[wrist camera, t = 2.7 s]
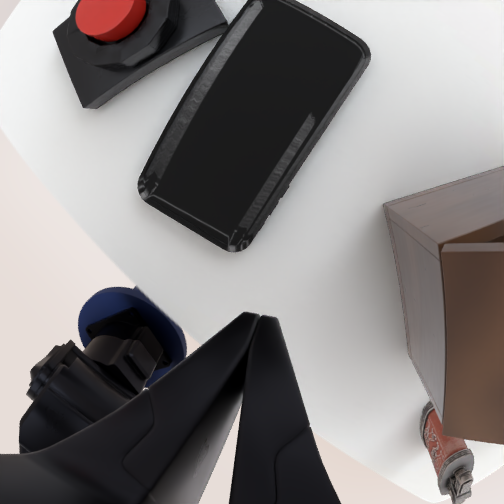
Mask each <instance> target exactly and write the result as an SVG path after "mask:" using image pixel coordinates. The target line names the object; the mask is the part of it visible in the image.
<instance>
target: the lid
mask: <svg viewBox="0 0 504 504" xmlns="http://www.w3.org/2000/svg"><path fill="white" fill-rule="evenodd" d="M441 258H442V267H443V278H444V290H445V304H446V327H447V372H446V394H445V409H444V420H443V430H442V435H445V436H450V437H456V438H461V439H467V440H474V441H480V442H487V443H495V444H503V445H504V243H453V244H444V246H443V249H442V251H441Z"/></svg>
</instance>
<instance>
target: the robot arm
mask: <svg viewBox="0 0 504 504" xmlns="http://www.w3.org/2000/svg"><path fill="white" fill-rule="evenodd" d="M131 312H132V313H133V314H134V315H133V314H131ZM85 331H86V333H87V334H88V336H89V337H90V338H91V340H92V341H91V342H90V343H89V345H88V346H87V347H86V348H85V350H84V351H83V352H82V351H81V350H80V349H79V348H78V347H77V346H75V343H74V342H73V341H72V340H70V341H69V342H68V343H67V344H66V345H65V344H63V345H62V346H57V345H56V346H55V347H54V348H53V349H52V350H51V351H50V352H49V354H48V355H47V356H46V357H45V358H43V359H42V360H41V361H40V362H38V363H37V364H36V365H35V366H34V367H33V368H32V369H31V371H30V374H31V383H30V384H29V386H30V389H29V390H28V392H27V394H26V395H27V396H28V397H30V398H31V399H32V400H33V403H32V404H31V406H30V407H29V408H28V410H27V411H26V413H25V414H24V415H23V417H22V418H21V420H20V427H19V428H20V430H19V445H20V446H19V447H20V454H0V504H198V503H199V501H200V499H201V496H202V494H203V492H204V490H205V488H206V485H207V483H208V481H209V479H210V476H211V474H212V472H213V470H214V467H215V465H216V463H217V460H218V458H219V456H220V453H221V451H222V449H223V446H224V444H225V442H226V440H227V437H228V435H229V432H230V430H231V428H232V425H233V423H234V420H235V418H236V416H237V413H238V411H239V408H240V406H241V403H242V406H241V414H240V422H239V430H238V438H237V445H236V454H235V461H234V469H233V477H232V484H231V492H230V499H229V504H341V503H340V500H339V498H338V496H337V494H336V492H335V490H334V488H333V486H332V483H331V481H330V479H329V477H328V474H327V472H326V470H325V467H324V465H323V463H322V460H321V457H320V454H319V451H318V448H317V445H316V442H315V439H314V436H313V433H312V429H311V427H309V426H310V423H309V420H308V417H307V413H306V410H305V407H304V403H303V400H302V397H301V393H300V390H299V387H298V383H297V380H296V377H295V373H294V370H293V367H292V363H291V360H290V357H289V353H288V350H287V347H286V344H285V340H284V337H283V334H282V330H281V327H280V324H279V321H278V319H277V318H276V317H272V316H267V315H262V316H261V317H260V315H259V314H256V313H250V312H243V313H241V314H240V315H239V316H238V317H236V318H235V319H234V320H233V321H232V322H230V323H229V324H228V325H227V326H225V327H224V328H223V329H222V330H220V331H219V332H218V333H217V334H215V335H214V336H213V337H212V338H210V339H209V340H208V341H207V342H205V343H204V344H203V345H202V346H201V347H199V348H198V349H197V350H195V351H194V352H193V353H192V354H190V355H189V356H188V357H187V358H185V359H184V360H183V361H181V362H180V363H179V364H178V365H176V366H175V367H174V368H172V369H171V370H170V371H169V372H167V373H166V374H165V375H163V376H162V377H161V378H160V379H158V380H157V381H156V382H154V383H153V384H152V385H150V386H149V387H148V389H145V390H144V391H143V389H144V386H145V384H146V382H147V380H148V379H150V377H151V375H152V373H153V371H156V370H159V369H163V368H166V367H169V366H170V365H171V359H170V357H169V356H168V355H167V353H166V352H165V350H164V349H163V347H162V346H161V344H160V343H159V341H158V340H157V338H156V337H155V336H154V334H153V333H152V331H151V330H150V328H149V327H148V326H147V324H146V323H145V321H144V320H143V318H142V317H141V315H140V314H139V312H138V311H137V310H136V309H135V308H134V307H130V308H127V309H125V310H123V311H120V312H118V313H116V314H113V315H111V316H108V317H106V318H104V319H101V320H99V321H97V322H94V323H92V324H90V325H88V326H87V327H86V329H85ZM165 361H166V362H165Z"/></svg>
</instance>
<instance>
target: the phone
mask: <svg viewBox="0 0 504 504" xmlns="http://www.w3.org/2000/svg"><path fill="white" fill-rule="evenodd" d="M370 60H371V53H370V49H369V47H368V46H367V44H366V43H365V42H364V41H363V40H362V39H360V38H359V37H357V36H356V35H354V34H353V33H351V32H350V31H348V30H346V29H345V28H343V27H342V26H340V25H338V24H337V23H335V22H333V21H332V20H330V19H328V18H327V17H325V16H323V15H321V14H320V13H318V12H316V11H314V10H312V9H311V8H309V7H307V6H305V5H303V4H301V3H299V2H297V1H296V0H248V1H247V2H246V4H245V5H244V6H243V8H242V9H241V10H240V12H239V13H238V14H237V16H236V17H235V18H234V20H233V21H232V22H231V24H230V25H229V27H228V28H227V29H226V31H225V32H224V34H223V35H222V36H221V38H220V39H219V41H218V42H217V44H216V45H215V47H214V48H213V50H212V51H211V53H210V54H209V56H208V57H207V59H206V60H205V62H204V63H203V65H202V66H201V68H200V70H199V71H198V73H197V74H196V76H195V77H194V79H193V81H192V82H191V84H190V86H189V87H188V89H187V90H186V92H185V94H184V95H183V97H182V99H181V101H180V102H179V104H178V106H177V107H176V109H175V111H174V113H173V114H172V116H171V118H170V120H169V121H168V123H167V125H166V127H165V129H164V130H163V132H162V134H161V136H160V138H159V140H158V142H157V144H156V145H155V147H154V149H153V151H152V153H151V155H150V157H149V159H148V161H147V163H146V165H145V167H144V169H143V171H142V173H141V175H140V177H139V180H138V192H139V195H140V196H141V198H142V199H143V200H144V201H145V202H146V203H148V204H149V205H151V206H152V207H154V208H156V209H157V210H159V211H161V212H162V213H164V214H166V215H167V216H169V217H171V218H172V219H174V220H176V221H177V222H179V223H181V224H182V225H184V226H185V227H187V228H189V229H190V230H192V231H194V232H195V233H197V234H199V235H200V236H202V237H204V238H205V239H207V240H209V241H210V242H212V243H214V244H215V245H217V246H219V247H220V248H222V249H224V250H226V251H229V252H239V251H242V250H244V249H246V248H247V247H248V246H249V245H250V244H251V242H252V241H253V239H254V237H255V236H256V234H257V233H258V231H260V229H261V228H262V226H263V225H264V223H265V221H266V219H267V218H268V216H269V215H271V213H272V212H273V210H274V208H275V207H276V205H277V204H278V202H279V199H280V198H282V197H283V195H284V194H285V192H286V191H287V189H288V188H289V184H290V183H291V181H292V179H293V178H294V176H295V175H296V173H297V172H298V170H299V169H300V167H301V166H302V164H303V163H304V161H305V160H306V158H307V157H308V155H309V154H310V152H311V151H312V149H313V148H314V146H315V145H316V143H317V142H318V140H319V139H320V137H321V136H322V134H323V132H324V131H325V129H326V128H327V126H328V125H329V123H330V122H331V120H332V119H333V117H334V116H335V114H336V113H337V111H338V110H339V108H340V107H341V105H342V104H343V102H344V101H345V99H346V98H347V96H348V95H349V93H350V92H351V90H352V89H353V87H354V86H355V84H356V83H357V81H358V80H359V78H360V77H361V75H362V74H363V72H364V71H365V69H366V68H367V66H368V65H369V62H370Z"/></svg>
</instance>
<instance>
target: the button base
mask: <svg viewBox="0 0 504 504" xmlns="http://www.w3.org/2000/svg"><path fill="white" fill-rule="evenodd" d="M80 1H81V0H78V1H77V3H76V4H75V6H74V7H73V9H72V11H71V15H70V17H69V18H68V19H66V20H65V21H64V22H63V23H62V24H60V25H59V26H58V27H57V28H56V29H55V30H53V34H54V37H55V40H56V42H57V45H58V48H59V50H60V53H61V56H62V58H63V61H64V63H65V66H66V68H67V71H68V73H69V76H70V78H71V81H72V83H73V85H74V88H75V90H76V93H77V95H78V97H79V100H80V102H81V104H82V106H83V108H89V109H97V108H98V107H100V106H101V105H102V104H104V103H105V102H107V101H108V100H109V99H111V98H112V97H114V96H115V95H117V94H118V93H119V92H121V91H122V90H124V89H125V88H127V87H128V86H130V85H131V84H133V83H134V82H136V81H138V80H139V79H141V78H142V77H144V76H145V75H147V74H149V73H150V72H152V71H154V70H155V69H157V68H159V67H160V66H162V65H164V64H165V63H167V62H169V61H171V60H172V59H174V58H176V57H178V56H179V55H181V54H183V53H185V52H187V51H189V50H190V49H192V48H194V47H196V46H198V45H200V44H202V43H204V42H206V41H208V40H210V39H212V38H214V37H216V36H218V35H220V34H222V33H224V32H225V31H226V29H227V28H228V27H229V25H228V23H227V20H226V19H225V17H224V15H223V14H222V12H221V10H220V9H219V7H218V5H217V4H216V2H215V0H146V11H145V15H144V17H143V19H142V21H141V23H140V24H139V25H138V27H137V28H136V29H135V30H134V31H133V32H132V33H130V34H129V35H128V36H126V37H124V38H122V39H120V40H117V41H112V42H105V41H101V40H98V39H96V38H94V37H91V36H89V35H87V34H85V33H83V32H82V31H80V29H79V28H78V26H77V23H76V11H77V8H78V5H79V3H80Z"/></svg>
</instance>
